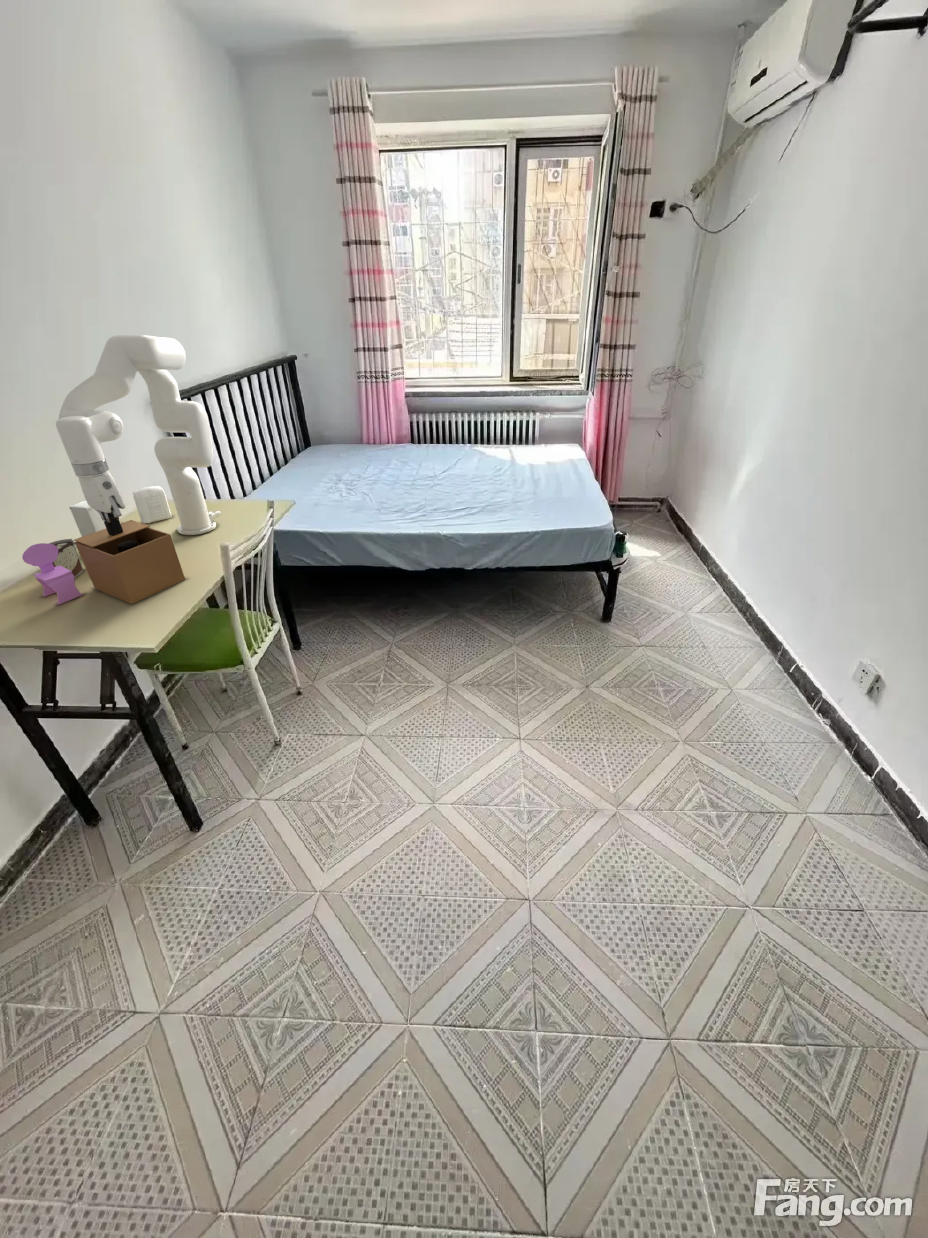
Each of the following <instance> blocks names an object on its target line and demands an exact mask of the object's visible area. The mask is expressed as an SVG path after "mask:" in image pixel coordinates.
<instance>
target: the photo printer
mask: <svg viewBox="0 0 928 1238" xmlns="http://www.w3.org/2000/svg"><path fill="white" fill-rule="evenodd" d="M132 495H133V501H134V503H135V506H136V509H137V512H138V516H139V519H140V521H141V523H143V524H146V525H147V524H150V523H155V522H158V521H162V520H168V519H172V517H173V516H172V515H173V514H172V512H171V509H170V505H169V502H168V499H167V495H166V492H165V491H164V488H163V487H162V486H159V485H150V486H149V485H148V486H144V487H140V488H138V489H135V491H133V492H132Z"/></svg>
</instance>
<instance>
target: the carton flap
mask: <svg viewBox="0 0 928 1238" xmlns="http://www.w3.org/2000/svg"><path fill="white" fill-rule="evenodd" d="M120 524H121V527H122V529H123V533H120V534H117V535H115V536H112V535H109V534H108V532H107V529H103V530H100V531H97V532H94V533H91V534H88V535H86V536H83V537H82V536H79V537H77V538H74V539H73V541H74V542H76V541H77V542H79V543H82V544H85V545H87V546H90V547H95V546H98V545H101V544H104V543H106V542H109V541H112V540H115V539H118V538H120V537H123V536H126V535H129V534H131V533H134V532H137V531H140V530H142V529H145V528H148V527H149V528H151V526H150V525H149V524H147V523H146V524H144V523H142V522H138V521H136V520H132V519H129V520H127V521H124V522H122V523H121V522H120Z"/></svg>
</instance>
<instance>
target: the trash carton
mask: <svg viewBox="0 0 928 1238" xmlns="http://www.w3.org/2000/svg"><path fill="white" fill-rule="evenodd" d="M172 538H173V537H172V535H171V534H170V533H167V532H165V531H162V530H158V529H155V528H152V527H148V528H145V529H142V530H140V531H137V532H134V533H131V534H129V535H126V536H123V537H120V538H118V539H115V540H112V541H109V542H106V543H104V544H101V545H98V546H95V547H90V546H87V545H85V544H82V543H79V542H77V541H74V542H75V544H76V545H75V548H76V550H77V552H78V553H79V554H78V555H79V557H80V559H81V560H82V563H83V565H84V568H85V569H86V572H87V575H88V577H89V579H90V581H91V583H92V585H93V588H94V589H95V590H98V591H101V592H102V593H105V594H107V595H110V596H111V597H114V598H117V599H119V600H121V601H124V602H125V603H128V604H131V605H133V604H136V603H138V602H140V601H142V600H144V599H146V598H149V597H150V596H152V595H155V594H157V593H160V592H162V591H164V590H166V589H167V588H170V587H172V586H174V585H177V584H179V583H180V582H183V581H185V580H186V577H185V575H184V572H183V568H182V566H181V563H180V560H179V557H178V554H177V550H176V548H175V544H174V541H173V539H172ZM125 541H136V542H137V545H138V546H137V547H134V548H132V549H129V550H127V551H124V552H121V553H120V552H119V549H118V547H117V545H118V544H120V543H122V542H125Z"/></svg>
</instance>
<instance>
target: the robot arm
mask: <svg viewBox="0 0 928 1238" xmlns="http://www.w3.org/2000/svg"><path fill="white" fill-rule="evenodd" d="M186 361H187V355H186V351H185V348H184V347H183V345H182V344H181V343H180V342H179V341H178V340H177V339H175V338H172V337H162V336H154V335H145V334H117V335H112V336H111V337H109V338H107V340H106V342H105V345H104V347H103V350H102V352H101V354H100V357H99V360H98V363H97V365H96V368H95V371H94V373H93V374H92V375H90V376H89V377H87V378H86V379H84V380H83V381H82V382H80V383H79V384H78V385H76V386H75V387H74V388H73V389H71V391H69V392H68V393H67V395H66V396H65V398H64V399H63V403H62V405H61V407H60V410H59V413H58V418H57V420H56V421H55V427H56V429H57V432H58V435H59V438H60V440H61V442H62V445H63V447H64V451H65V452H66V455H67V457H68V460H69V462H70V465H71V467H72V469H73V472H74V475H75V477H77V478H78V481H79V484H80V488H81V490H82V493H83V496H84V499H85V501H87V503H88V505H89V506H90V507H91V508H93V509H95V510H96V511H97V512H98V513H99V514H100V516H101V518H102V520H103V521H104V524H105V526H106V529H107V532H108V534H109V535H112V536H115V535H117V534H120V533H123V529H122V527H121V522H120V517H122V515H123V513H122V512H121V510H124V509H125V508H126V504H125V501H124V499H123V496H122V495H121V492H120V488H118V485H117V483H116V480H115V479H114V477H113V475H112V474H111V473H110V467H109V465H108V462H107V460H106V457H105V454H104V452H103V449H102V445H101V443H105V442H106V443H107V442H113V441H116V440H118V439H119V438H120V437H121V436H122V435H123V433H124V422H123V421H122V419H121V418H120V416H118V414H116V413H114V412H112V411H109V410H103V409H102V410H101V409H98V408H100V407H102V406H104V405H107V404H110V403H113V402H116V401H118V400H120V399H123V398H125V397H126V396H128V395H129V394H130V392H131V390H132V388H133V387H132V386H133V384H134V382H135V381H134V380H135V378H136V375H137V372H138V374H140V376H141V377H142V378H143V381H144V382H145V384H146V386H147V391H148V395H149V400H150V405H151V411H152V416H153V419H154V423H155V425H156V427H157V428H158V429H159V431H162V432H164V433H165V432H166V433H183V434H184V433H185V434H187V433H189V434H190V436H165V437H161V438H159V439H158V440H156V442H155V444H154V450H153V451H154V455H155V456H156V459H157V461H158V463H159V465H160V467H161V469H162V471H163V473H164V475H165V478H166V481H167V484H168V487H169V490H170V494H171V497H172V500H173V503H174V507H175V510H176V514H177V517H178V520H179V522H180V524H179V525H178V526H177V532H178V533H179V534H181V535H184V536H197V535H203V534H206V533H209V532H211V531H213V530H214V529H216V528H217V523H216V521H215V519H216V518H219V517H221V516H222V512H221V511H220V510H217V511H214V512H213V511H208V507H207V503H206V500H205V497H204V493H203V489H202V485H201V482H200V478H199V476H198V475H197V473H196V472H195V470H193V468H197V469H198V468H199V469H200V468H201V469H203V468H209V467H211V466H212V465H213V463H214V459H215V453H214V452H215V451H214V446H213V439H212V433H211V427H210V420H209V416H208V413H207V411H206V409H205V407H204V406H203V405H202V404H201V403H200V402H197V401H194V400H182V398H181V395H180V389H179V386H178V383H177V381H176V379H175V378H174V377H173V375H172V374H171V373H170V372H169V370H172V371H177V370H181V369H182V368H184V366H185V365H186V363H187V362H186ZM120 509H121V510H120Z"/></svg>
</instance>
